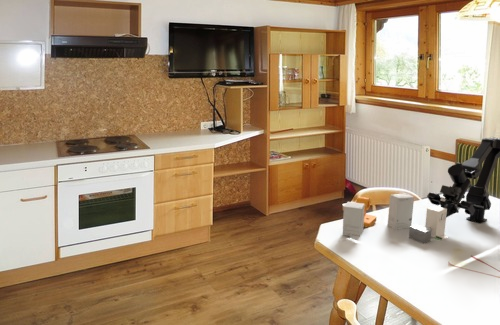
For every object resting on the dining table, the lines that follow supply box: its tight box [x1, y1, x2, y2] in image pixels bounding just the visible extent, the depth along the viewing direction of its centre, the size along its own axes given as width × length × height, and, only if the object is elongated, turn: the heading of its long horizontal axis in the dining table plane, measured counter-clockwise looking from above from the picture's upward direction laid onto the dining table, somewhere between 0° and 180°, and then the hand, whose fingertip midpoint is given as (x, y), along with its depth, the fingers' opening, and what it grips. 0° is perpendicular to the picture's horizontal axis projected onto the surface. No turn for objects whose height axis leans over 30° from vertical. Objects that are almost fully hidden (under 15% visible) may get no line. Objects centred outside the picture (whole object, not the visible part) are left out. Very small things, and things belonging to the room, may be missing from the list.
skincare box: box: [387, 193, 415, 230], centre depth 188 cm, size 8×6×15 cm
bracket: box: [355, 196, 377, 228], centre depth 194 cm, size 11×7×12 cm, turn 147°
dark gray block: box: [408, 224, 432, 245], centre depth 175 cm, size 4×7×5 cm, turn 34°
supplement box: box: [342, 201, 365, 237], centre depth 183 cm, size 7×7×13 cm
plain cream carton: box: [424, 205, 447, 239], centre depth 178 cm, size 10×8×11 cm
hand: (440, 219), depth 181 cm, fingers closed, pressing on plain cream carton
